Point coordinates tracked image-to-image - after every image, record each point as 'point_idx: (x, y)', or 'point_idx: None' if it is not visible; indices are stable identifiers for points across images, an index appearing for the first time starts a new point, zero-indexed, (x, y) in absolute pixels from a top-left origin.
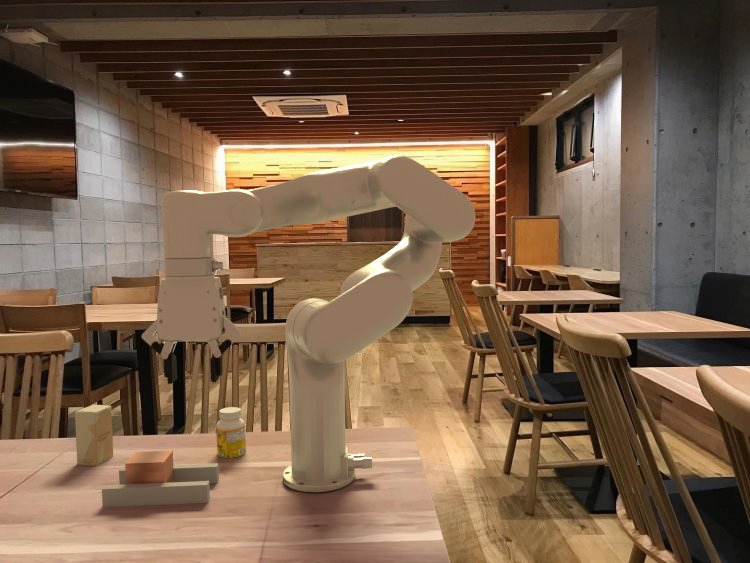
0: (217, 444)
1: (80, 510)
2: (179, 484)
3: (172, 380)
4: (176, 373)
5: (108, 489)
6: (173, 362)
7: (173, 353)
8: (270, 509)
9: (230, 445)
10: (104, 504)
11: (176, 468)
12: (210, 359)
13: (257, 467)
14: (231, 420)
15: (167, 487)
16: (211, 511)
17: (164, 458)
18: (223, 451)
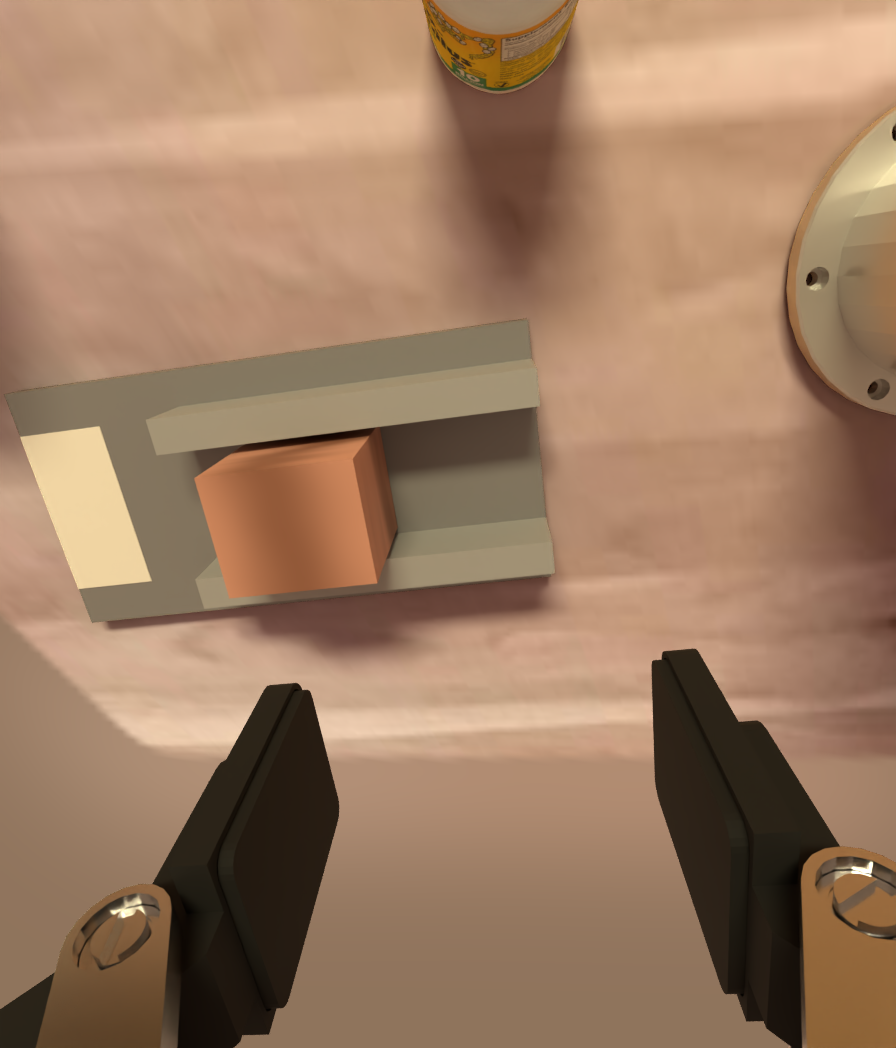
0: (433, 27)
1: None
2: (452, 572)
3: (335, 822)
4: (298, 736)
5: (226, 606)
6: (279, 917)
7: (213, 964)
8: (750, 531)
9: (518, 62)
10: None
11: (375, 426)
12: (726, 992)
13: (651, 134)
14: None
15: (417, 586)
16: (560, 546)
17: (360, 548)
18: (477, 73)
